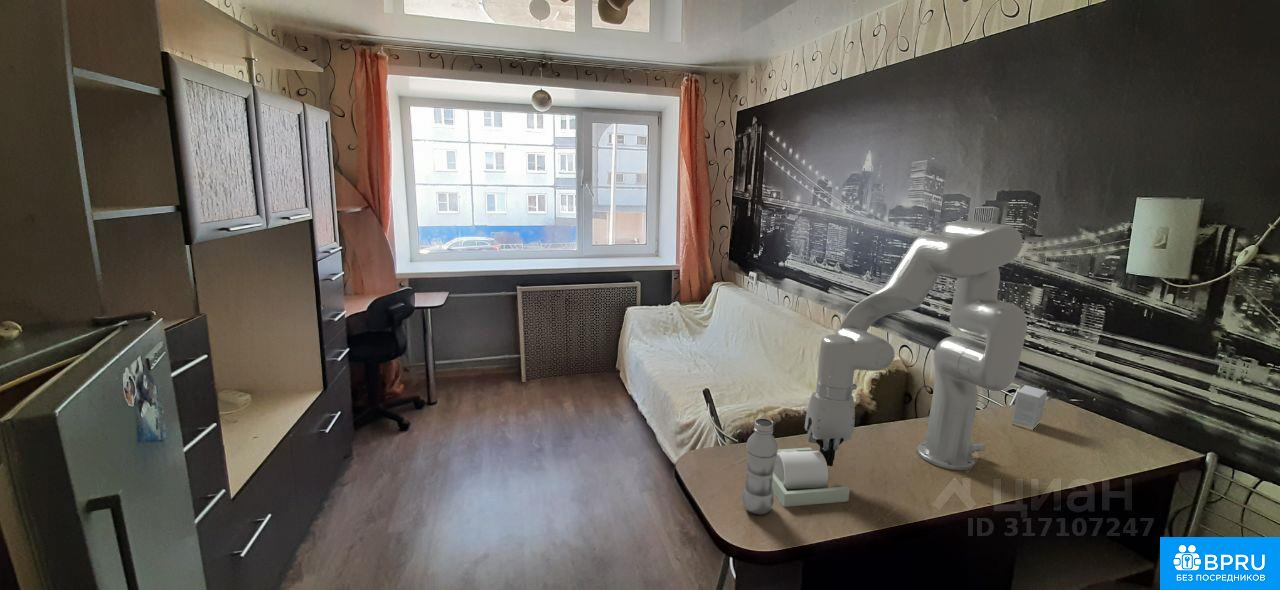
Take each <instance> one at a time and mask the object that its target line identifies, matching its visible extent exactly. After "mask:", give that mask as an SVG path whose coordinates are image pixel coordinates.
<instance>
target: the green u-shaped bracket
mask: <svg viewBox="0 0 1280 590" xmlns="http://www.w3.org/2000/svg"><path fill="white" fill-rule="evenodd" d="M784 450H794V451H798V452H801V451H813V448H812V447H799V448H796V447H795V448H780V449H779V448H778V452H781V451H784ZM850 490H851V489H850V487H848V486H846V485H845V486H837V487H823V488H808V489H796V490H788V489H785V487H784V486H783V485H782V483H781V482H780V481H779V479H778V478H777V477H776V475H775V474H774V473H773V493H774V496H776V498H777V499H778V501H779V502H780V503H781V504H782V507H784V508H785V507H787V508H788V507H797V506H809V505H820V504H821V505H822V504H832V503H833V504H835V503H845V502H849V499H850V492H851V491H850Z"/></svg>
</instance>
